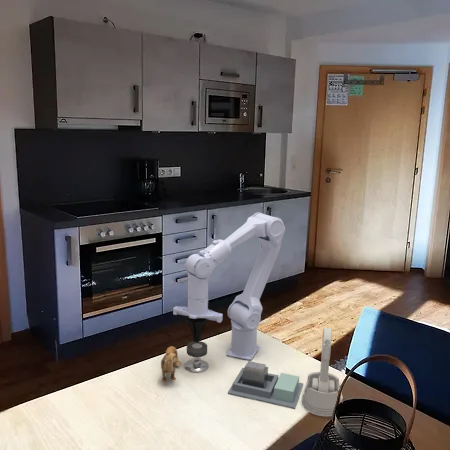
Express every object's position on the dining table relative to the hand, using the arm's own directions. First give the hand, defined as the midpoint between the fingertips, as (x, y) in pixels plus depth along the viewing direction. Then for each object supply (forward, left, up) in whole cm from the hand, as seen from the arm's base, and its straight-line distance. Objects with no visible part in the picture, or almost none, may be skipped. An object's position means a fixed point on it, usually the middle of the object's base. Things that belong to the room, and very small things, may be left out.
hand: (197, 340), depth 135 cm
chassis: (+4, +22, -8) cm, 24 cm away
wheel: (0, 0, -4) cm, 4 cm away
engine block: (+4, +19, -8) cm, 21 cm away
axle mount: (0, 0, -8) cm, 8 cm away
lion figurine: (+7, -5, -8) cm, 12 cm away
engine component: (+5, +37, -8) cm, 38 cm away
